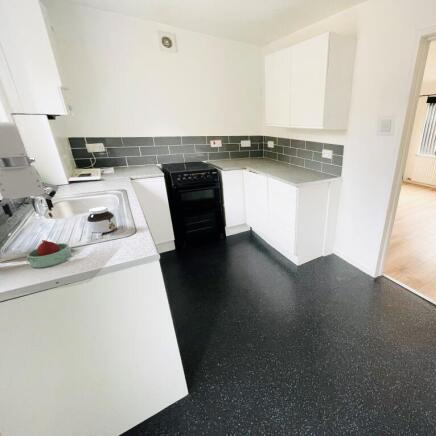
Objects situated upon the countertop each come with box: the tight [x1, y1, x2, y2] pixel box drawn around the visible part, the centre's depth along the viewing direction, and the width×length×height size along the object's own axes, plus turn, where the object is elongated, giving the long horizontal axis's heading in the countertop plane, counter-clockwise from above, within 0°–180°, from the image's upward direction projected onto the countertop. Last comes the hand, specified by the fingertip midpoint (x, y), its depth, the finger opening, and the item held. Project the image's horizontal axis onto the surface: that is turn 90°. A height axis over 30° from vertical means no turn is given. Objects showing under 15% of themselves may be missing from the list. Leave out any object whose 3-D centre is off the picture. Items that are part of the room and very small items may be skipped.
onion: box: [36, 239, 60, 256], centre depth 90 cm, size 6×6×8 cm
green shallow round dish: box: [26, 242, 72, 269], centre depth 90 cm, size 11×11×4 cm
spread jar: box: [86, 206, 118, 236], centre depth 116 cm, size 12×11×12 cm
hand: (31, 212), depth 85 cm, fingers open, 9 cm apart
